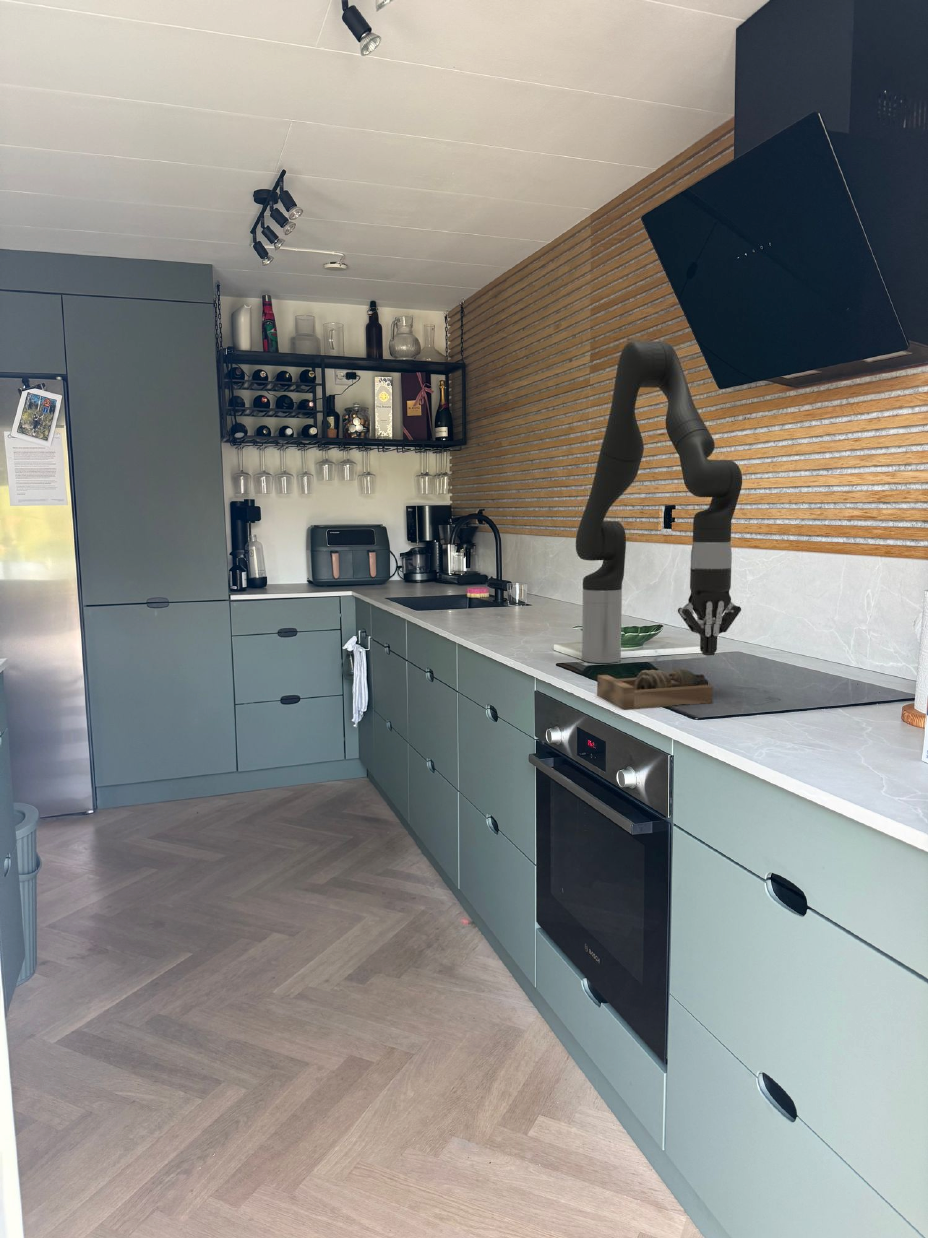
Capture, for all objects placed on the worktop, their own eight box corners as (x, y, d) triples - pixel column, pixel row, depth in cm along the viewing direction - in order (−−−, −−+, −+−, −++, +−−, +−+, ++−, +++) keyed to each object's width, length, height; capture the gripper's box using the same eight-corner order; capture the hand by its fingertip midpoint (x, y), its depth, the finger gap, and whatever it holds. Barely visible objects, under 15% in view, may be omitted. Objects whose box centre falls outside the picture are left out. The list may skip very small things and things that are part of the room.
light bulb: (697, 690, 162) (629, 695, 158) (699, 663, 161) (630, 667, 157) (714, 698, 157) (643, 703, 153) (715, 670, 156) (644, 674, 152)
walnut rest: (597, 695, 161) (597, 675, 160) (679, 689, 165) (680, 669, 165) (624, 709, 149) (624, 688, 149) (712, 702, 154) (712, 681, 153)
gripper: (730, 563, 162) (727, 649, 165) (669, 565, 159) (667, 653, 161) (752, 565, 155) (749, 656, 157) (690, 567, 152) (687, 660, 154)
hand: (708, 654), depth 159 cm, fingers closed
